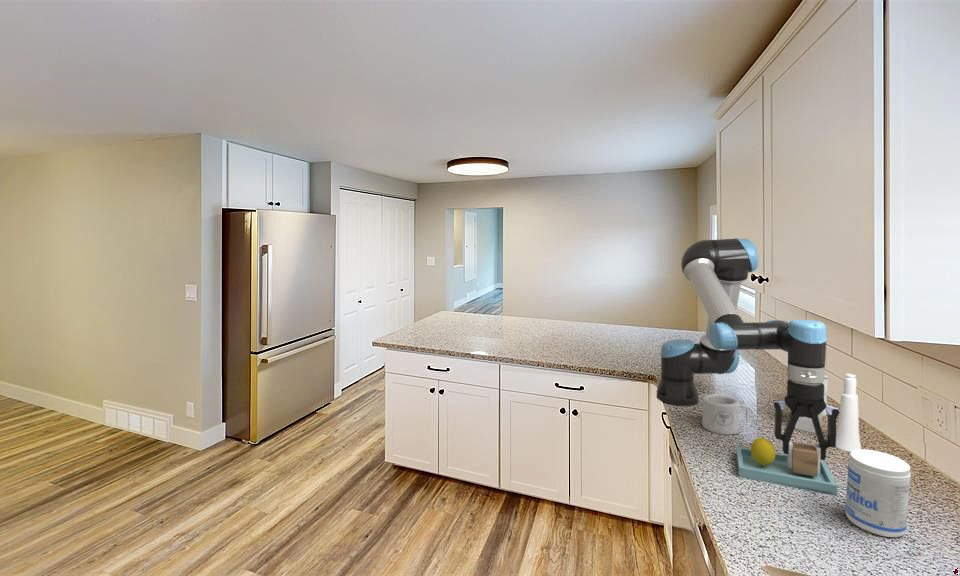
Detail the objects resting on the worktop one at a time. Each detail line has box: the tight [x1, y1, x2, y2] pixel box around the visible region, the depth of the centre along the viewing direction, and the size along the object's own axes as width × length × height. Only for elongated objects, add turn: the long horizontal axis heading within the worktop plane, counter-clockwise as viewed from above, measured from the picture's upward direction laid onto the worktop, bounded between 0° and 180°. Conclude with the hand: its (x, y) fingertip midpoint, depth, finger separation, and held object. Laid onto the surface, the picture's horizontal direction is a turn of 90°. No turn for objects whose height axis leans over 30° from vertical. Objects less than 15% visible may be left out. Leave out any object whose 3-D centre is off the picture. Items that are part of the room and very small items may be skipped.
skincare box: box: [794, 381, 825, 434], centre depth 136 cm, size 8×7×16 cm
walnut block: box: [792, 441, 818, 476], centre depth 108 cm, size 5×5×6 cm
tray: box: [736, 446, 838, 496], centre depth 111 cm, size 13×20×2 cm, turn 61°
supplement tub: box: [845, 448, 912, 538], centre depth 89 cm, size 10×10×15 cm
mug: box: [701, 393, 750, 436], centre depth 138 cm, size 14×11×10 cm
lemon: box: [750, 436, 776, 466], centre depth 113 cm, size 6×6×8 cm
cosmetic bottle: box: [835, 373, 862, 453], centre depth 122 cm, size 6×6×22 cm
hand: (803, 467), depth 109 cm, fingers closed on walnut block, 5 cm apart
